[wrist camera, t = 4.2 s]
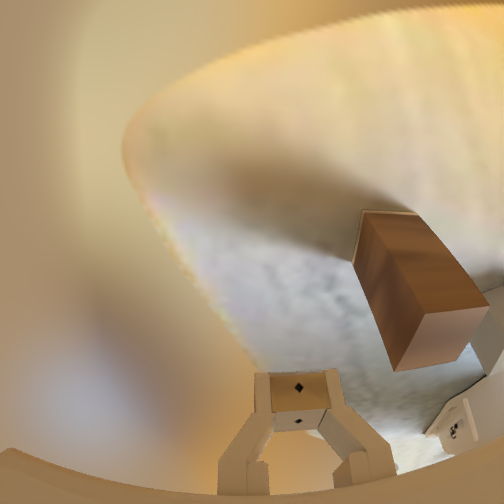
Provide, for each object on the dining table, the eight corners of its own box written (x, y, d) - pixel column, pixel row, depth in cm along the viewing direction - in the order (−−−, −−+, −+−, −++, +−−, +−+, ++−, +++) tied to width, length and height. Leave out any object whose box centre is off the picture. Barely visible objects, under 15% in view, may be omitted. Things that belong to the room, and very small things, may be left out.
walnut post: (401, 262, 20) (455, 360, 13) (351, 262, 20) (394, 371, 13) (416, 212, 18) (490, 305, 11) (362, 209, 18) (425, 313, 11)
